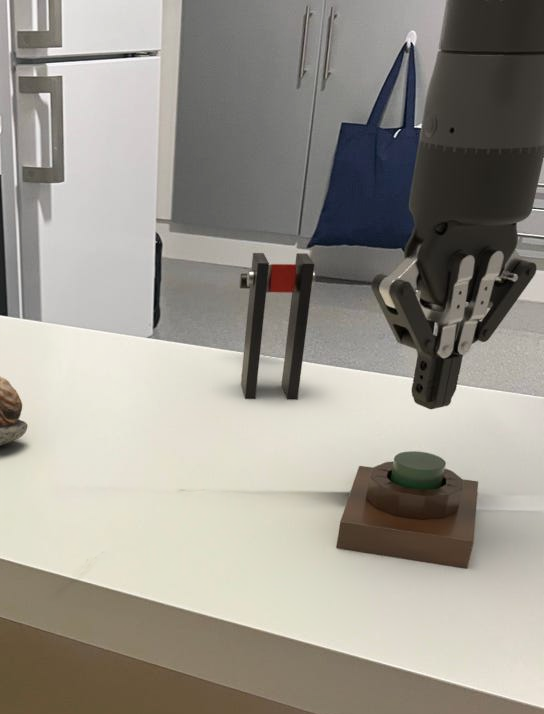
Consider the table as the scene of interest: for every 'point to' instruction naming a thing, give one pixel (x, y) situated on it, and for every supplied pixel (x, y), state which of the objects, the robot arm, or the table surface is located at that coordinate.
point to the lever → (276, 278)
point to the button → (418, 470)
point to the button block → (410, 518)
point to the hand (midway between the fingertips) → (431, 404)
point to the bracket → (295, 327)
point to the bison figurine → (10, 413)
